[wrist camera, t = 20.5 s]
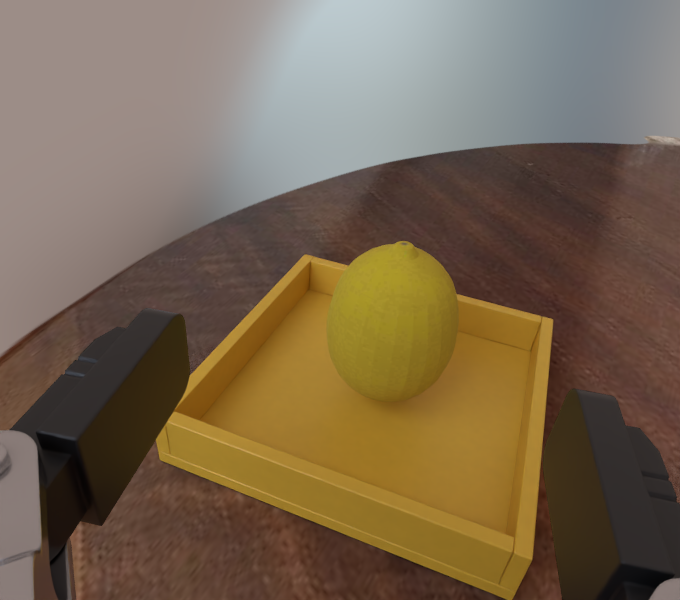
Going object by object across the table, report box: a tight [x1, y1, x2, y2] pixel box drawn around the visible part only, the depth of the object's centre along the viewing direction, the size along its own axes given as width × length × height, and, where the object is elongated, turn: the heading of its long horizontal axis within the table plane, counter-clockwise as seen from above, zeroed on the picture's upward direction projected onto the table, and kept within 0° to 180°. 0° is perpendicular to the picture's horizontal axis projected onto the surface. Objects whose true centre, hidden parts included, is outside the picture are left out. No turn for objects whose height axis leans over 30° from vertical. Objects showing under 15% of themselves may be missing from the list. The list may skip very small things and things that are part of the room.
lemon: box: [326, 241, 459, 402], centre depth 23 cm, size 6×6×8 cm
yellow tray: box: [156, 254, 553, 600], centre depth 25 cm, size 14×14×3 cm
